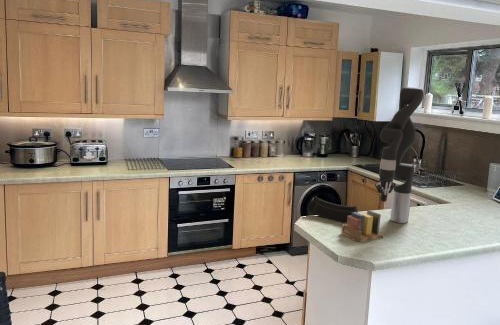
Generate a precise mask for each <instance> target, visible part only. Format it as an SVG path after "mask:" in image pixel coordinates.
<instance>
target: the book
mask: <svg viewBox="0 0 500 325" xmlns="http://www.w3.org/2000/svg"><path fill="white" fill-rule="evenodd" d="M361 214H362V215H364V225H363V234H365V235H368V234H371V232H372V223H373V216H370V215H368V214H367V213H361Z"/></svg>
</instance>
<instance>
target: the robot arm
mask: <svg viewBox="0 0 500 325" xmlns="http://www.w3.org/2000/svg"><path fill="white" fill-rule="evenodd" d="M423 100H424V90H423V89H422V88H420V87H410V86H406V87H405V86H404V87H402V88H401V90H400V94H399V110H398V111H397V112H395V114H394V115H393V117H392V118H391V120H390V122H388V124H386V125H385V126H384V127H382V130H381V131H380V132H379V133H380V134H379V138H380V141H381V142H384V143H388V144H389V143H390V144H391V143H392V144H391V146H385V147H384V146H383V148H382V150H381V158H380V163H379V170H378V171H379V173H378V177H379V179H378V182H377V183H375V184H374V186H375V188H376V190H377V193H379V194H380V201H381V202H383V203H384V202H385V203H386V202H387V200H388V195H389V194H392V201H391V208H390V209H391V210H390V217H389V220H390V221H391V222H394V223H398V224H406V223H407V222H409V220H410V219H409V218H410V209H411V204H410V203H411V202H410V201H411V196H412V195H411V194H412V193H411V192H412V186H413V179H414V174H415V166H414V164H410V163H403V162H402V159H403V157H404V156H405V154H406V153H407V151H408V150H409V149H410V148H411V147H412V146H413V145H414V142H415V140H416V139H415V138H416V131H417V130H416V126H415V124H414V122H413V120H412V118H411V116H412V115H413V114H414V113H415V112H416V110H417V109H418V108H419V106H420V105H421V104H422V102H423ZM394 179H396V180H401V181H405V182H404V183H401V184H396V183H395V182H394Z"/></svg>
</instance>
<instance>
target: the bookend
mask: <svg viewBox="0 0 500 325" xmlns="http://www.w3.org/2000/svg"><path fill="white" fill-rule="evenodd" d="M366 214H368V215H370V216H373V223H372V232H373V233H376V234H379V233H380V225H381V218H382V216H381V214H380V213H377V212H375V211H372V210H367V211H366Z"/></svg>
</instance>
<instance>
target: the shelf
mask: <svg viewBox="0 0 500 325" xmlns="http://www.w3.org/2000/svg"><path fill="white" fill-rule="evenodd" d="M362 214H363V213H359V212H358V213H357V212H353V213H352V215H351V216H347V223H343V224H342V225H341V233H340V235H343V236H345V237H347V238H349V239H350V240H353V241H355V242H356V243H361V242H366V241H371V240H378V239H383V238H384V234H382V233H380V232H379V234H376V233H373V232H371V234H368V235H365V234H363V225H364V215H362Z"/></svg>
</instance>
